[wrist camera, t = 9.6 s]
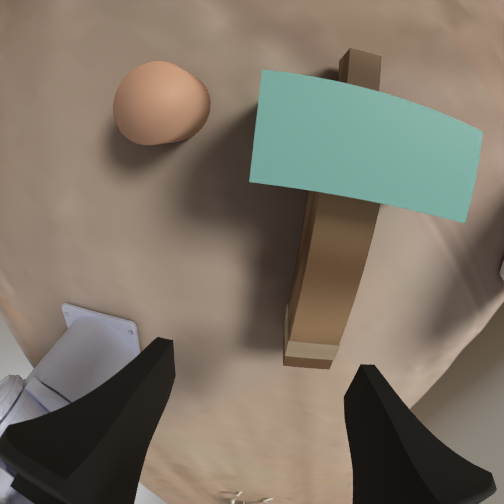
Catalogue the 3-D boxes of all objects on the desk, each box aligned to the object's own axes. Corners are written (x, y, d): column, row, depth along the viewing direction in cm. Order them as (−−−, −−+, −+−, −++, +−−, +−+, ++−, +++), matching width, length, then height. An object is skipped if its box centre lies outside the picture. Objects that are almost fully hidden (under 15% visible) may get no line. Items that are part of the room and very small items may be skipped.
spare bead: (206, 143, 16) (188, 147, 13) (140, 141, 16) (110, 145, 13) (214, 73, 14) (198, 59, 11) (146, 75, 14) (118, 65, 11)
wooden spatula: (323, 330, 20) (330, 369, 17) (282, 326, 21) (282, 366, 17) (374, 72, 13) (400, 57, 10) (324, 60, 13) (337, 40, 10)
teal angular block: (403, 188, 16) (465, 223, 9) (261, 162, 16) (249, 182, 10) (414, 127, 14) (482, 131, 8) (268, 96, 15) (262, 69, 8)
